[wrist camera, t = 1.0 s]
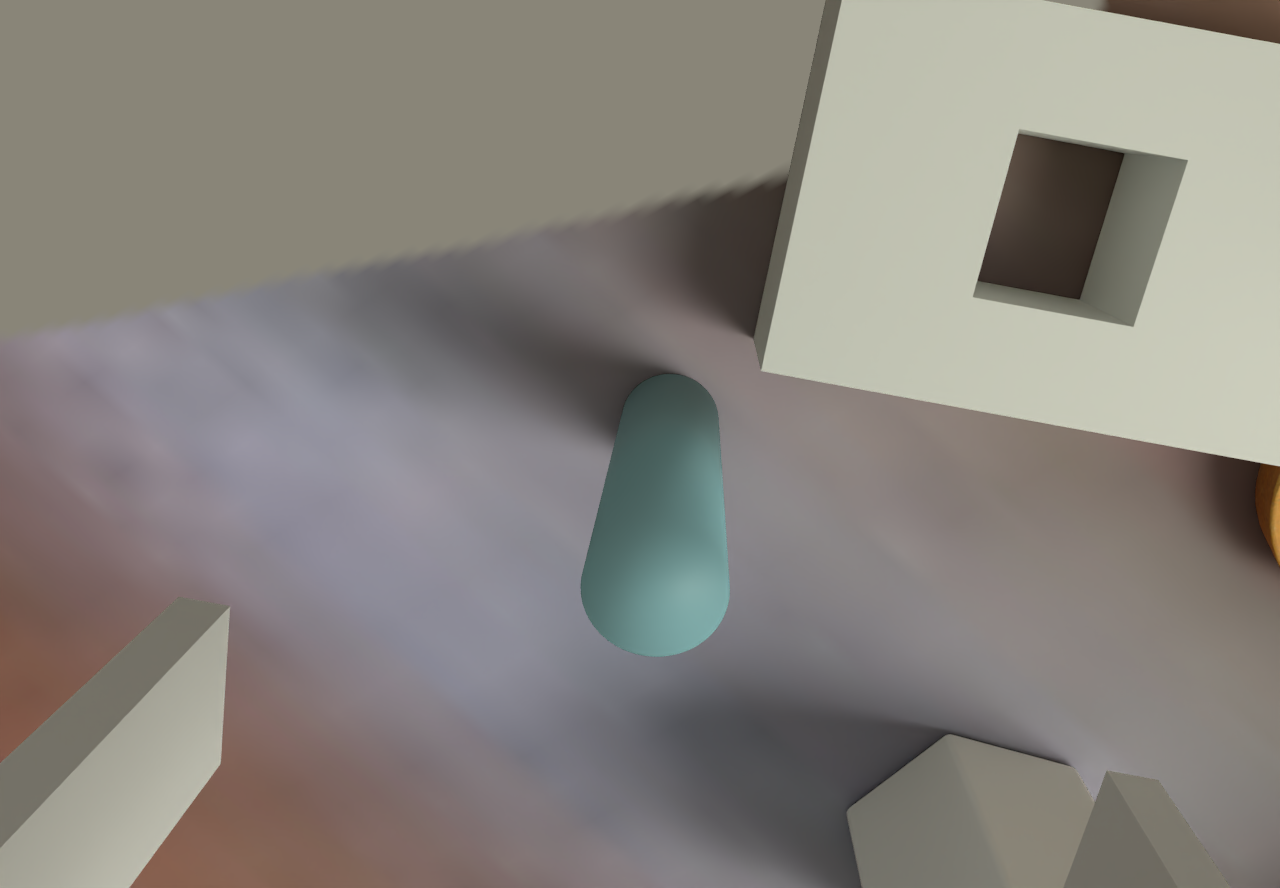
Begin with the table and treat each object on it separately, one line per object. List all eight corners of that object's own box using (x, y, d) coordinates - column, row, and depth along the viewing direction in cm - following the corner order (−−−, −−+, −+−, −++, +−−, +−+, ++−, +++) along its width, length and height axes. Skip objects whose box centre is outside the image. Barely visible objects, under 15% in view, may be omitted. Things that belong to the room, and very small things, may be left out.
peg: (614, 457, 33) (570, 642, 22) (630, 365, 32) (593, 509, 21) (708, 474, 33) (713, 668, 22) (727, 383, 32) (743, 535, 21)
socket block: (753, 339, 32) (761, 371, 28) (829, -17, 29) (849, -36, 25) (1210, 423, 32) (1280, 466, 28) (1335, 77, 29) (1433, 72, 25)
